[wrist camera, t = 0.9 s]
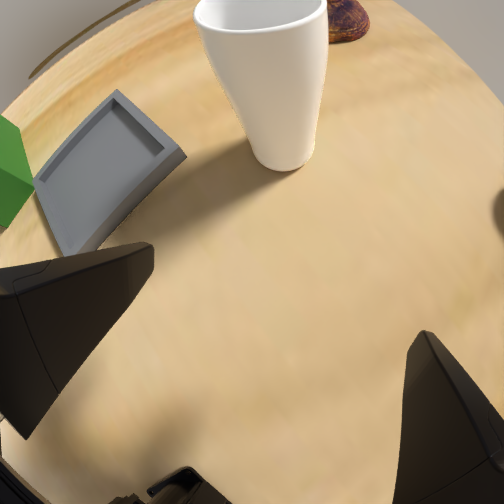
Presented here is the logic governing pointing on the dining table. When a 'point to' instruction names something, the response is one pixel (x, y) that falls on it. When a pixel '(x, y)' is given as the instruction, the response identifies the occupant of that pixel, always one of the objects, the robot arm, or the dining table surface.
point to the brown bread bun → (346, 20)
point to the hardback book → (12, 172)
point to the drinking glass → (269, 70)
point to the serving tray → (103, 173)
